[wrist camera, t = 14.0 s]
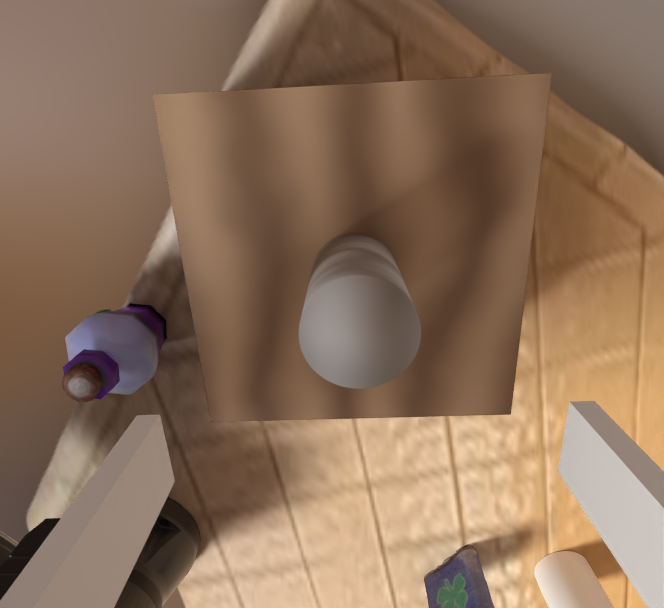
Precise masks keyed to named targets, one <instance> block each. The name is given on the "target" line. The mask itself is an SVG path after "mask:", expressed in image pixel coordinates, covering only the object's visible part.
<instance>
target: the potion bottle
mask: <svg viewBox="0 0 664 608" xmlns="http://www.w3.org/2000/svg"><path fill="white" fill-rule="evenodd" d="M166 338H167V333H166V320H165V319H164V318H163V317H162V316H161V315H160V314H159V313H158V312H157V311H156V310H155V309H154V308H153V307H152V306H150V305H139V304H130V305H128V306H127V307H126V308H123V309H120V310H116V311H111V310H110V309H103V310H100V311H99V312H97V313H95V314H93V315H91V316H88V317H87V318H86V319H85V320H83V322H81V323H80V324H79V325H78V326H77V327H76V328H75V329H74V330H73V331H72V332H71V333H69V334H68V335H67V336H66V338H65V339H66V345H67V352H68V359H69V362H68V363H67V364H66V365H65V366H64V367H63V370H64V377H63V380H62V385H63V389H64V391H65V392H66V394H67V395H69V396H70V397H71V398H72V399H74V400H76V401H79V402H88V401H91V400H93V399H101V398H102V397H104V396H105V395H106V394H107V393H115V394H126V395H132V394H133V393H134V392H135V391H137V390H138V389H139V388H140V387H142V386H143V385H144V384H145V383H146V382H148V381H149V380H150V379H151V378H152V377H154V375H155V372H156V369H157V366H158V363H159V360H160V349H161V347H162V344H163V341H164V340H165V339H166Z"/></svg>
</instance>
